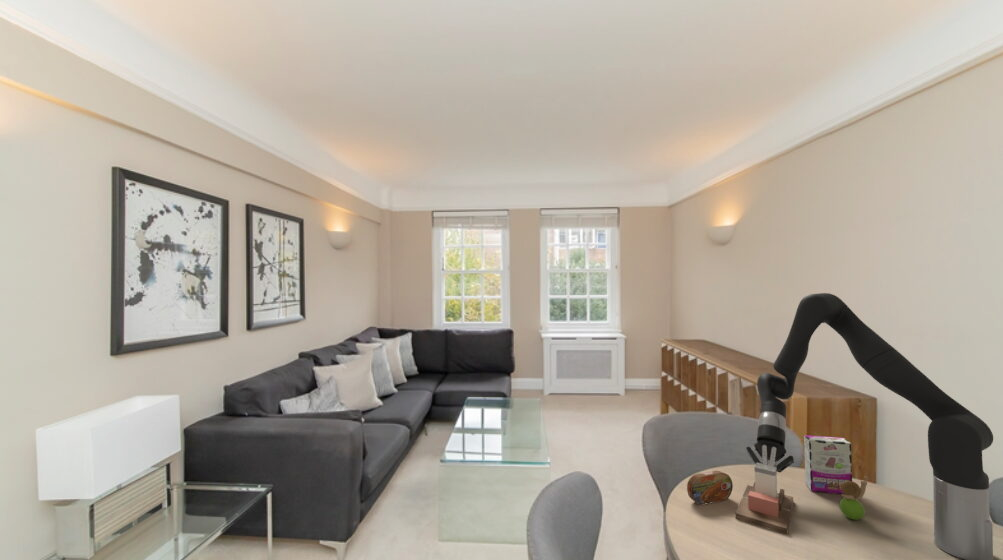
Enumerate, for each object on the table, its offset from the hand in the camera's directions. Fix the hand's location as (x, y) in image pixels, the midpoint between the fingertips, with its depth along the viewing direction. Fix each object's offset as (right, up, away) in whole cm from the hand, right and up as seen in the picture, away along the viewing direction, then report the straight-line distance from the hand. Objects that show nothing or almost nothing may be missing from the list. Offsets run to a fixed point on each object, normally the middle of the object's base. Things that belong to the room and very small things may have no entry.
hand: (767, 482), depth 124 cm
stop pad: (-5, -5, -7) cm, 10 cm away
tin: (-16, -7, +2) cm, 18 cm away
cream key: (-2, -5, -2) cm, 5 cm away
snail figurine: (+19, -6, -8) cm, 22 cm away
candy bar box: (+24, -6, +7) cm, 26 cm away
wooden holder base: (-3, -6, -3) cm, 8 cm away
